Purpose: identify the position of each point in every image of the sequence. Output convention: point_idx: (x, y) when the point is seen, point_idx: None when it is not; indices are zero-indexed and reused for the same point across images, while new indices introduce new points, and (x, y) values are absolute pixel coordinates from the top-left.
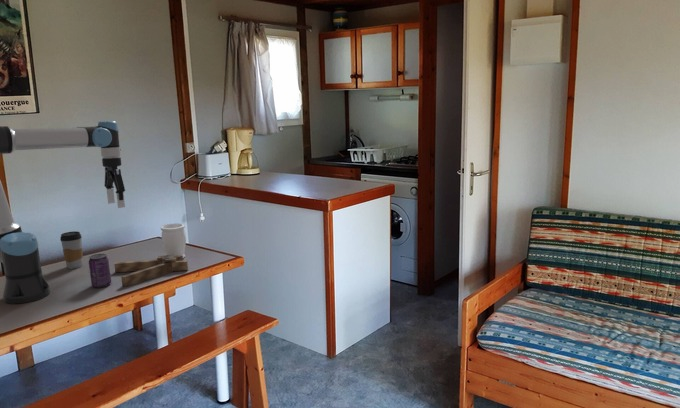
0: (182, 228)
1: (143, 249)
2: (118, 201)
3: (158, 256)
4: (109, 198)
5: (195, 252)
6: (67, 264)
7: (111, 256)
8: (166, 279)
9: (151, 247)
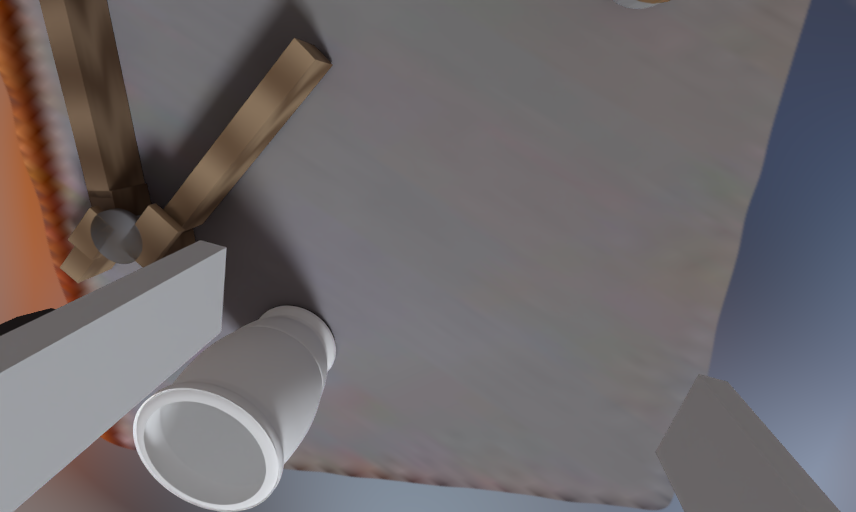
0: (153, 457)
1: (555, 359)
2: (118, 292)
3: (169, 226)
4: (737, 460)
5: None
6: None
7: (610, 204)
8: (52, 134)
9: (547, 396)
